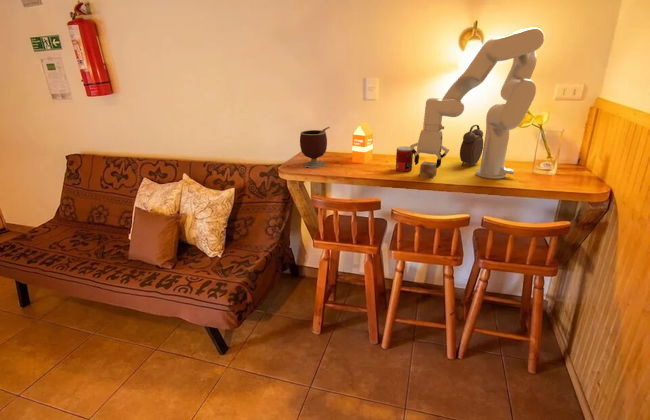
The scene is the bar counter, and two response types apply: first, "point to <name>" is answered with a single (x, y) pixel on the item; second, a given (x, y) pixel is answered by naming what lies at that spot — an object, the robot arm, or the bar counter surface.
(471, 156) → the alarm clock
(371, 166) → the bar counter surface
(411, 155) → the canned food
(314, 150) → the mate gourd
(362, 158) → the orange juice
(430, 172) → the walnut cube
